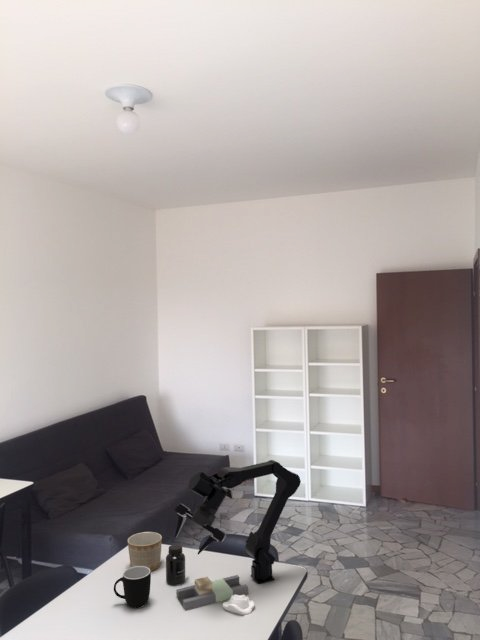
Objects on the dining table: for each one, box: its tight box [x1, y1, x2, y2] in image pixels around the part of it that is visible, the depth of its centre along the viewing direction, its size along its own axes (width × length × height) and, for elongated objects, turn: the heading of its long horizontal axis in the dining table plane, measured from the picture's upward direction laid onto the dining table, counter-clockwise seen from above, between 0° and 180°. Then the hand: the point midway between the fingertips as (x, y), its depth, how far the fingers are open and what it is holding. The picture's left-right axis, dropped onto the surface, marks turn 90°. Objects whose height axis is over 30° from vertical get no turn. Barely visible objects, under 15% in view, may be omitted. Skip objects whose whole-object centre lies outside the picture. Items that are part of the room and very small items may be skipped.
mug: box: [113, 566, 152, 609], centre depth 172 cm, size 12×9×10 cm
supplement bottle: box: [165, 543, 186, 586], centre depth 186 cm, size 7×7×12 cm
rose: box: [222, 595, 255, 616], centre depth 168 cm, size 10×4×10 cm
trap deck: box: [175, 574, 249, 611], centre depth 176 cm, size 22×9×2 cm, turn 114°
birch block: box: [194, 576, 212, 595], centre depth 175 cm, size 4×4×3 cm
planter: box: [127, 531, 163, 572], centre depth 198 cm, size 13×13×10 cm
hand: (186, 546), depth 174 cm, fingers open, 9 cm apart
